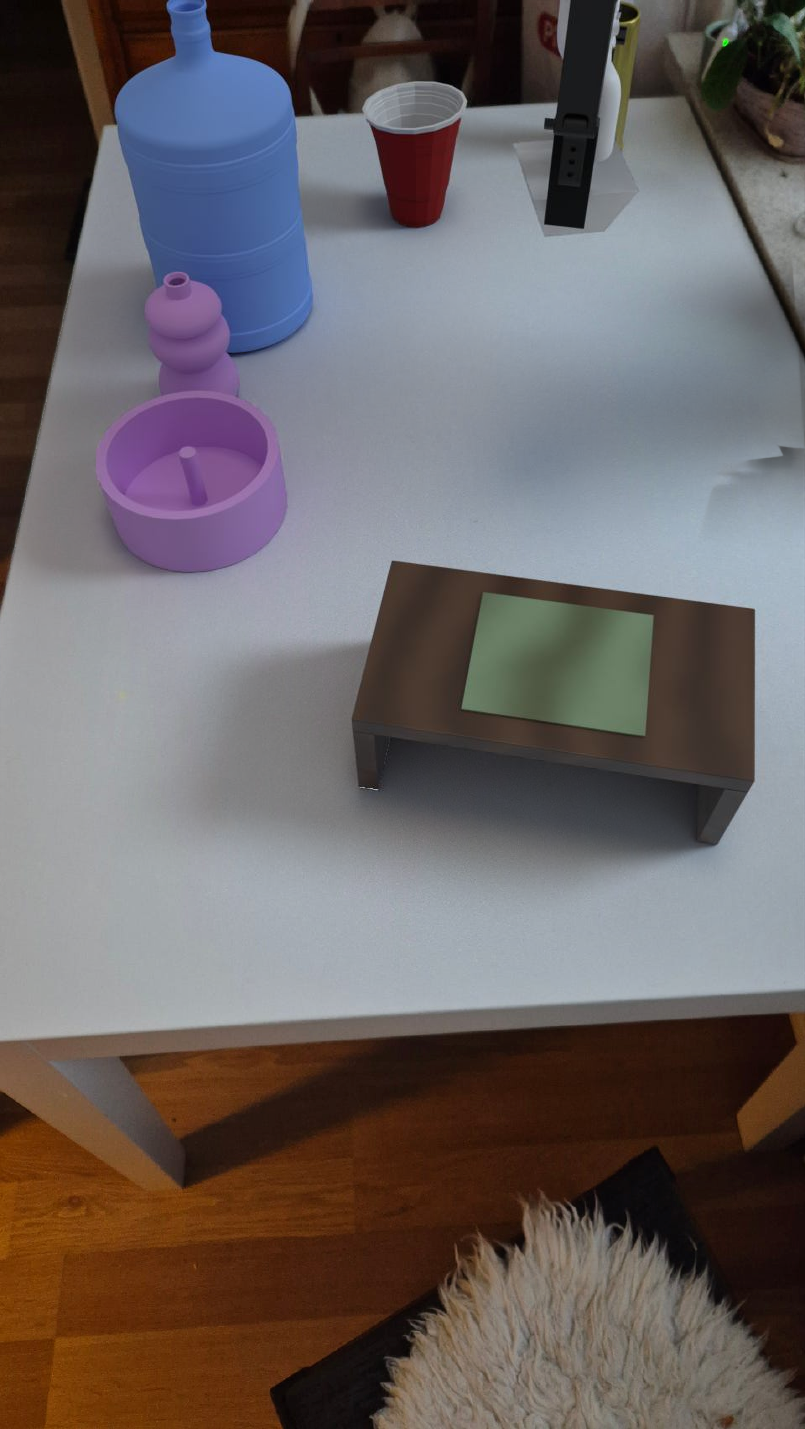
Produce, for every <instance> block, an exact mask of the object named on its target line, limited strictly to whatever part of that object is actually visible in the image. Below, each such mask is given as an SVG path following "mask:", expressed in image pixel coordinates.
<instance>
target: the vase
mask: <svg viewBox="0 0 805 1429" xmlns="http://www.w3.org/2000/svg"><path fill="white" fill-rule="evenodd" d="M620 4H621V6H622V7H621V16H620V18H619V26H627V32H626V39H625V44H624V45H615V47H612V49H615V50H614V56H613V63H612V64H613V66H614V68H615V70H616V72H617V74H618V76H619V79H620V85H621V98H620V107H619V113H618V119H617V125H616V131H615V137H614V138H615V140H616V142H617V144H618V147H619V149H620V151H621V152H622V150H623V148H624V140H623V139H624V138H623V137H624V132H625V127H626V122H627V115H628V108H629V102H630V93H631V89H632V80H633V71H634V65H635V58H636V51H637V44H638V39H639V34H640V26H641V20H642V19H641V18H642V11H641V9H640V8H639V7H638V6H637V5H635V4H633V3H630V2H627V1H624V0H623V1H622V0H620Z"/></svg>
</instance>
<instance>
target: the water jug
mask: <svg viewBox="0 0 805 1429" xmlns="http://www.w3.org/2000/svg"><path fill="white" fill-rule="evenodd" d="M207 7H208V6H207V1H206V0H168V1H167V2H166V10H167V12H168V14H169V15H170V21H171V25H170V32H171V36H172V38H173V42H174V47H175V55H174V56H172V57H169V58H168V59H165V60H163V61H160V62H158V63H156V64H154V65H151V66H149V67H147V68H145V69H143V70H141V71H140V72H138V73H137V74H135V75H134V76H133V77H131V78H130V79H129V80H128V81H127V82H126V83H125V84H124V85H123V86H122V88H121V89H120V91H119V92H118V94H117V97H116V99H115V103H114V118H115V121H116V127H117V128H116V130H117V136H118V142H119V145H120V149H121V153H122V157H123V159H124V163H125V164H126V167H127V171H128V175H129V179H130V183H131V187H132V191H133V195H134V196H133V197H134V199H135V204H136V207H137V212H138V220H139V227H140V231H141V235H142V238H143V242H144V245H145V248H146V250H147V252H148V255H149V261H150V266H151V270H152V273H153V278H154V281H155V285H156V289H158V288H159V287H161V286H162V285H164V281H163V280H164V278H165V276H166V275H168V274H170V273H172V272H183V273H186V274H187V275H188V276H189V280H192V281H196V282H200V283H203V284H205V285H207V286H209V287H211V288H212V289H213V290H214V291H215V293H216V294H217V296H218V297H219V299H220V300H221V304H222V310H221V314H222V316H223V317H224V318H225V320H226V322H227V325H228V328H229V331H230V338H229V345H228V348H227V350H226V353H227V354H229V353H231V354H233V353H235V354H236V353H245V352H253V351H257V350H261V349H264V348H267V347H270V346H273V345H275V344H278V343H279V342H281V341H283V340H285V339H286V338H288V337H289V336H291V335H292V334H293V333H295V332H296V331H297V330H298V329H299V328H301V326H302V325H303V323H304V322H306V320H307V318H308V317H309V314H310V312H311V310H312V306H313V302H314V301H313V300H314V292H313V283H312V282H313V280H312V276H311V273H310V267H309V266H310V265H309V256H308V247H307V239H306V235H305V230H304V221H303V212H302V206H301V197H300V196H301V195H300V186H299V184H300V183H299V160H298V158H299V157H298V149H297V148H298V147H297V143H298V131H297V125H296V124H297V123H296V122H297V121H296V115H295V110H294V106H293V101H292V100H293V99H292V94H291V89H290V88H289V85H288V83H287V82H286V81H285V79H284V77H282V76H281V74H279V72H277V71H276V70H275V69H273V68H272V67H270V66H268V65H267V64H265V63H264V62H263V63H262V62H260V61H258V60H255V59H252V58H249V57H244V56H239V55H234V54H229V53H223V52H219V51H215V50H214V48H213V45H212V38H211V32H212V31H211V24H210V22H209V21H208V18H207V13H206V10H207Z"/></svg>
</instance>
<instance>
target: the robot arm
mask: <svg viewBox="0 0 805 1429" xmlns="http://www.w3.org/2000/svg"><path fill="white" fill-rule="evenodd" d="M617 1H618V0H571V1H570V8H569V16H568V24H567V32H566V40H565V48H564V56H563V59H562V65H561V74H560V79H559V87H558V88H559V89H558V96H557V104H556V112H555V116H554V117H552V118H551V117H544V122H543V130H547V131H548V130H549V131H552V133H553V139H552V140H553V148H552V157H551V166H550V175H549V184H548V192H547V201H546V210H545V219H544V225H552V226H561V227H570V228H579V229H584V226H585V220H586V213H587V206H588V200H589V193H590V186H591V180H592V173H593V166H594V160H595V153H596V146H597V139H598V133H599V126H600V118H599V117H598V115H599V109H600V102H601V96H602V90H603V83H604V77H605V71H606V65H607V58H608V52H609V46H610V39H611V33H612V27H613V20H614V14H615V8H616V3H617ZM621 7H622V6H621V4H620V6H619V11H618V13H619V12H621ZM626 32H627V26H619V33H618V35H615V37H616V44H615V45H624V44H625V39H626ZM614 50H615V49H612V58H611V62H612V63H613V56H614Z"/></svg>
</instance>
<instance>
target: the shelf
mask: <svg viewBox="0 0 805 1429" xmlns="http://www.w3.org/2000/svg"><path fill="white" fill-rule="evenodd" d="M355 699H356V700H355V704H354V707H353V712H352V716H351V729H352V737H353V750H354V755H355V765H356V775H357V786H358V788H359V787H365V788H373V789H379V790H380V786H379V784H380V785H381V782H380V780H381V781H382V778H381V776H383V773H382V771H383V772H384V769H383V767H384V768H385V764H384V762H385V763H386V760H385V758H386V759H387V756H386V753H387V754H388V751H387V749H388V750H389V747H388V745H389V746H390V742H391V738H395V739H402V740H408V741H414V742H415V741H416V742H421V743H428V744H435V745H441V746H448V747H453V748H461V749H465V750H466V749H467V750H474V751H480V752H487V753H492V754H493V753H494V754H499V755H505V756H513V757H519V758H525V759H530V760H531V759H532V760H538V761H546V762H551V763H557V764H565V765H570V766H577V767H585V768H589V769H590V768H591V769H595V770H596V769H597V770H604V771H610V772H616V773H623V774H629V775H635V776H643V777H649V778H656V779H662V780H669V781H675V782H680V783H689V784H695V785H698V786H697V788H698V789H697V808H696V809H697V812H696V838H695V839H696V840H695V841H696V842H697V843H702V844H707V845H708V844H709V845H715V846H718V845H719V843H720V841H721V840H722V838H723V836H724V834H725V833H726V831H727V829H728V827H729V826H730V824H731V823H732V821H733V819H734V818H735V816H736V814H737V812H738V810H739V809H740V808H741V805H742V804H743V802H744V800H745V799H746V797H747V795H748V793H749V791H750V790H751V788H752V787H753V785H754V783H755V781H756V609H755V608H751V607H744V606H736V605H729V604H722V603H713V602H706V601H699V600H691V599H685V598H683V599H682V598H677V597H669V596H663V595H654V594H646V593H640V592H632V591H625V590H617V589H610V588H602V587H594V586H587V585H580V584H571V583H565V582H557V581H550V580H542V579H534V578H527V577H520V576H513V575H507V574H506V575H505V574H498V573H497V574H496V573H491V572H483V571H476V570H468V569H461V568H460V569H459V568H453V567H445V566H438V565H430V564H423V563H416V562H409V561H408V562H407V561H400V560H394V559H393V560H391V562H390V565H389V570H388V573H387V578H386V581H385V585H384V590H383V593H382V597H381V601H380V605H379V609H378V613H377V617H376V620H375V625H374V629H373V632H372V636H371V640H370V645H369V648H368V653H367V656H366V661H365V664H364V668H363V672H362V676H361V679H360V683H359V687H358V692H357V696H356V698H355ZM390 737H391V738H390ZM389 741H390V742H389Z"/></svg>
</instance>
